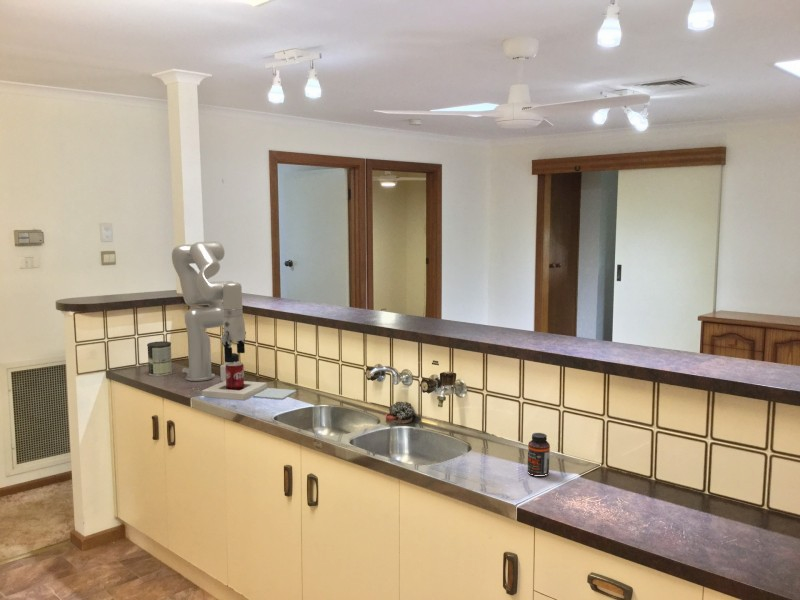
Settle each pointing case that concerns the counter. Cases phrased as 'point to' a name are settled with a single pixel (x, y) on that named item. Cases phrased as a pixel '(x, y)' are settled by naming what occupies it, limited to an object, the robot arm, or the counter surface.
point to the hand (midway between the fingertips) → (234, 355)
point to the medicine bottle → (227, 360)
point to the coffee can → (159, 358)
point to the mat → (275, 393)
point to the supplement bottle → (538, 454)
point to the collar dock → (234, 391)
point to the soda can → (234, 376)
